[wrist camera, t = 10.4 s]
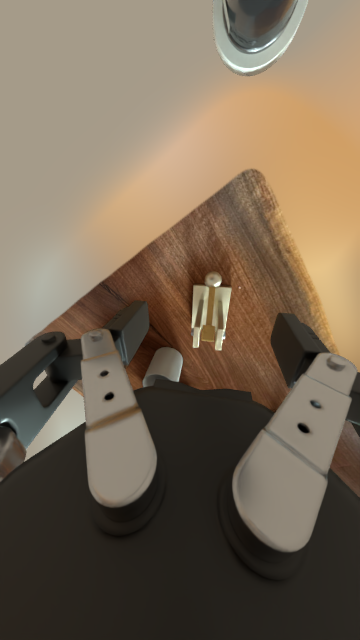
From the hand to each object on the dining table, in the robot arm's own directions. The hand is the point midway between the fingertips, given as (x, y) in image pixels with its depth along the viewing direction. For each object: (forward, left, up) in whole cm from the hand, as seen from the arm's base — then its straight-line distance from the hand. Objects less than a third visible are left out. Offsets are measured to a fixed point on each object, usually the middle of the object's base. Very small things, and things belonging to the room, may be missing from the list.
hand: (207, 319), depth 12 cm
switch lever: (+9, +5, -23) cm, 25 cm away
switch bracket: (+12, +6, -30) cm, 32 cm away
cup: (+32, +4, -30) cm, 44 cm away
